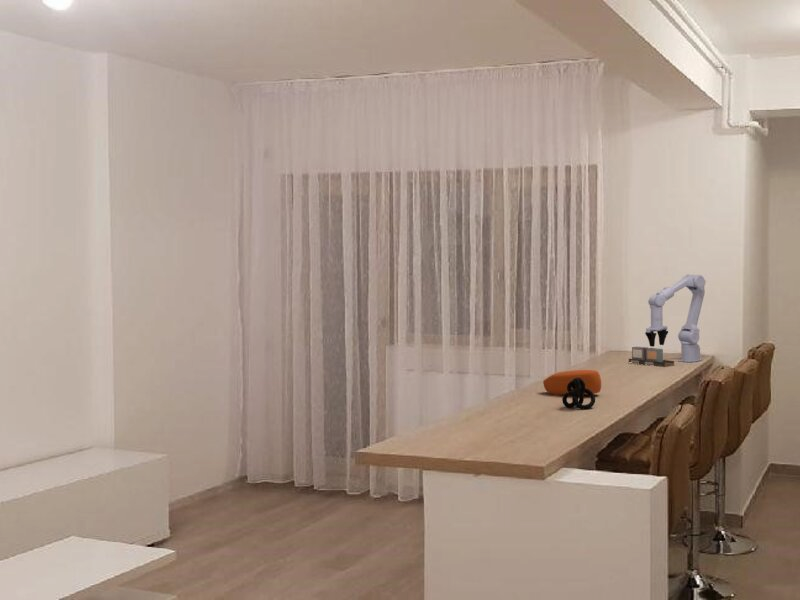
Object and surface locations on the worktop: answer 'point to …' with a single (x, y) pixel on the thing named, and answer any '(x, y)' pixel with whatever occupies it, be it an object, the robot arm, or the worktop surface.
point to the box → (639, 353)
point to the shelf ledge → (653, 362)
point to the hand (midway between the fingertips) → (656, 345)
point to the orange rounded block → (560, 380)
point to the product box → (654, 354)
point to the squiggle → (578, 394)
